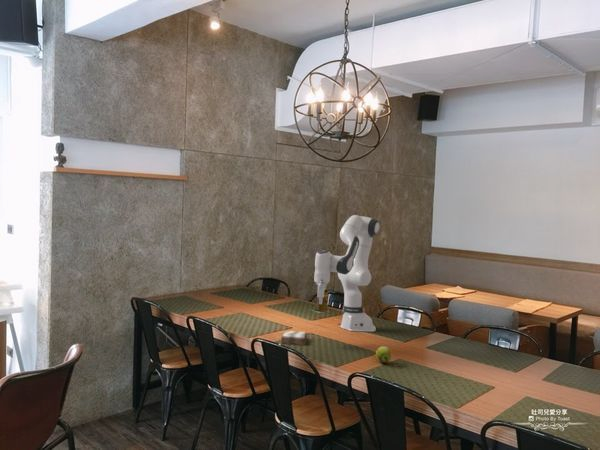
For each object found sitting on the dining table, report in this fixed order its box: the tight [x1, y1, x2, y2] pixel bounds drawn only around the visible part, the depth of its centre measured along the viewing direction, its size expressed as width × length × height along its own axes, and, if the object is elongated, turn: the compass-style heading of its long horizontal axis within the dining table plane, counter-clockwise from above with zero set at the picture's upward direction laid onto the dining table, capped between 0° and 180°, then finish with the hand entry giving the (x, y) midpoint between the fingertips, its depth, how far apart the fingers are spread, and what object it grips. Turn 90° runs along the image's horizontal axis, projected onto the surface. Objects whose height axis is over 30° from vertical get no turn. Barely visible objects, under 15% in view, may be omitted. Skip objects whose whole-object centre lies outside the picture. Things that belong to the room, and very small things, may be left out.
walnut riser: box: [280, 330, 308, 346], centre depth 284 cm, size 13×13×4 cm
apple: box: [375, 345, 392, 364], centre depth 253 cm, size 8×9×8 cm
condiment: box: [311, 289, 330, 313], centre depth 284 cm, size 7×8×12 cm
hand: (321, 302), depth 285 cm, fingers closed on condiment, 6 cm apart
